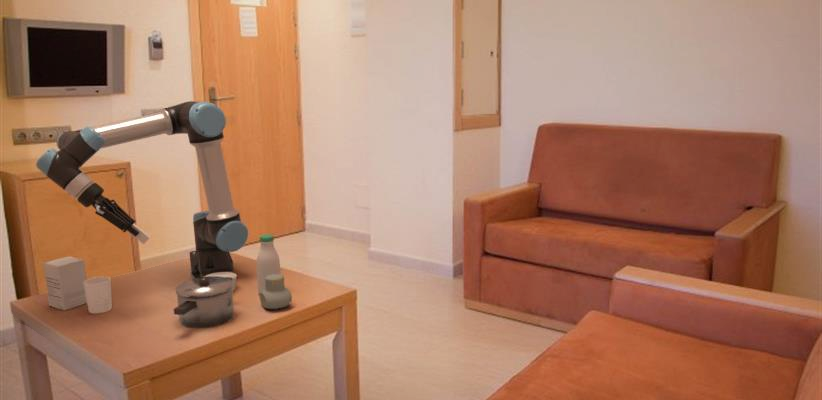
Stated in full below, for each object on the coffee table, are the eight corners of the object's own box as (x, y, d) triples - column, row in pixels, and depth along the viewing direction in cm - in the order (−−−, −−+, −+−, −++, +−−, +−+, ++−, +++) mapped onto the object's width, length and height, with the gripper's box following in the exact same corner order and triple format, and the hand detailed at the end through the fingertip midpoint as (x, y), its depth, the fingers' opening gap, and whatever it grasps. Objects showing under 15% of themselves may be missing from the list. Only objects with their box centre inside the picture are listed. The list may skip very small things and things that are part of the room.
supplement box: (74, 298, 222) (69, 255, 219) (90, 302, 217) (85, 258, 214) (48, 306, 214) (42, 262, 211) (64, 311, 210) (58, 266, 207)
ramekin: (236, 284, 233) (235, 270, 232) (239, 293, 223) (238, 278, 222) (203, 288, 230) (202, 273, 229) (205, 298, 219) (203, 283, 218)
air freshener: (294, 309, 207) (292, 278, 205) (268, 314, 203) (266, 283, 201) (283, 299, 217) (281, 270, 215) (258, 303, 213) (256, 274, 211)
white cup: (103, 315, 205) (99, 284, 203) (81, 313, 207) (77, 283, 205) (118, 306, 213) (115, 276, 211) (97, 305, 214) (94, 275, 212)
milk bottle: (283, 294, 221) (280, 237, 217) (260, 297, 218) (256, 239, 215) (279, 287, 228) (275, 232, 224) (256, 290, 225) (253, 234, 222)
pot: (206, 338, 185) (204, 308, 183) (155, 335, 188) (152, 305, 187) (252, 302, 213) (250, 276, 212) (207, 300, 217) (205, 274, 215)
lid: (238, 291, 196) (236, 264, 194) (180, 301, 188) (178, 273, 186) (220, 271, 216) (219, 247, 215) (168, 279, 209) (165, 254, 207)
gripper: (84, 195, 207) (144, 244, 213) (69, 203, 195) (133, 254, 200) (100, 178, 207) (160, 227, 212) (86, 185, 194) (150, 237, 200)
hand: (147, 240), depth 206 cm, fingers closed
